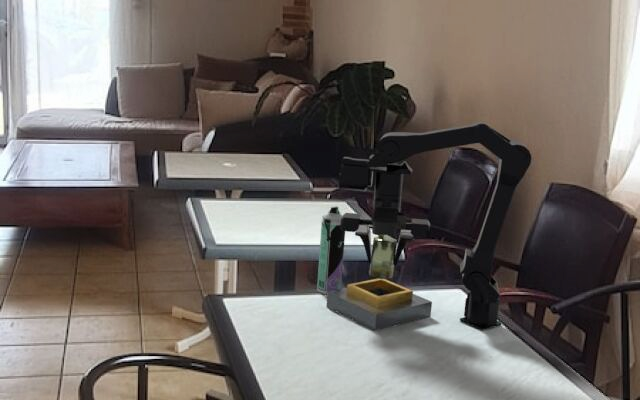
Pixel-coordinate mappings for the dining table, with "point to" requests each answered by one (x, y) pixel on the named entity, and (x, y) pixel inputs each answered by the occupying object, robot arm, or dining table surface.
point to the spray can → (331, 252)
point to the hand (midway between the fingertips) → (382, 264)
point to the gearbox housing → (379, 304)
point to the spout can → (383, 257)
